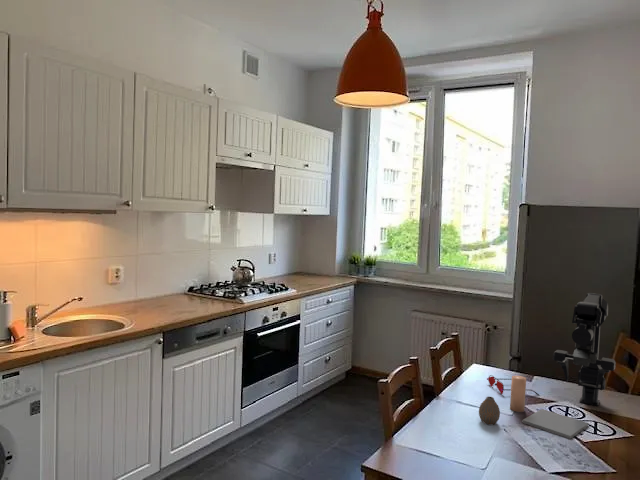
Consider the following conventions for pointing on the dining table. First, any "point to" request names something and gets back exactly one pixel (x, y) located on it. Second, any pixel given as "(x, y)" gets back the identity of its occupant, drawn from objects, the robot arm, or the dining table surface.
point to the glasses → (500, 384)
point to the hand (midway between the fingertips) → (581, 384)
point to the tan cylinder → (518, 393)
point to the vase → (489, 411)
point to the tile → (555, 423)
